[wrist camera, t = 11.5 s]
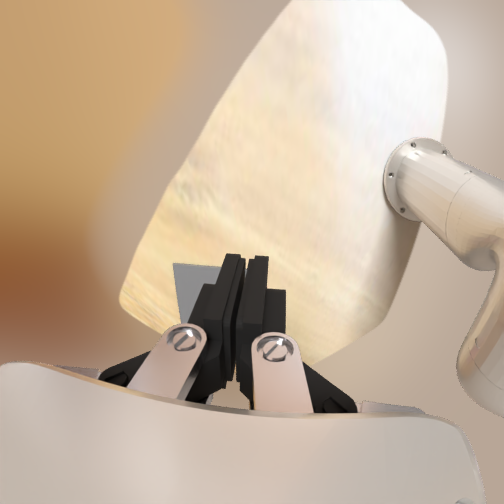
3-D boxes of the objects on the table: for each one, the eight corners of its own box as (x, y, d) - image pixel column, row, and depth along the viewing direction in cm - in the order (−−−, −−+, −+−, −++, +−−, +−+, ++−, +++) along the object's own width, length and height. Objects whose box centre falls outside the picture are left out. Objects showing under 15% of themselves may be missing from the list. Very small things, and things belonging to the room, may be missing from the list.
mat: (261, 270, 45) (261, 271, 45) (258, 334, 52) (257, 336, 52) (173, 263, 46) (172, 264, 46) (182, 326, 53) (181, 327, 53)
